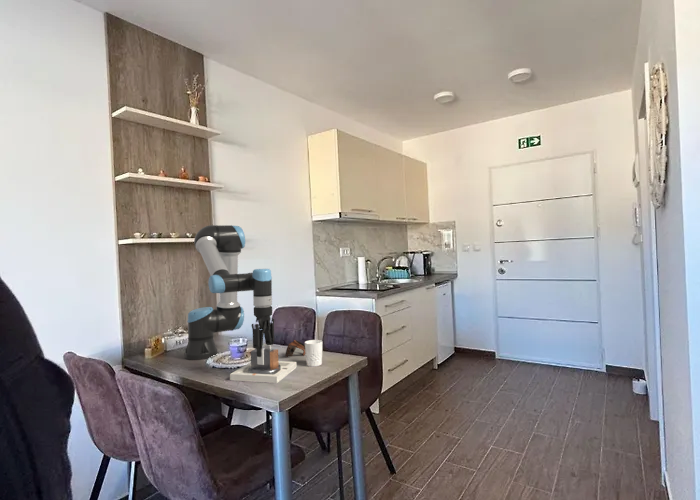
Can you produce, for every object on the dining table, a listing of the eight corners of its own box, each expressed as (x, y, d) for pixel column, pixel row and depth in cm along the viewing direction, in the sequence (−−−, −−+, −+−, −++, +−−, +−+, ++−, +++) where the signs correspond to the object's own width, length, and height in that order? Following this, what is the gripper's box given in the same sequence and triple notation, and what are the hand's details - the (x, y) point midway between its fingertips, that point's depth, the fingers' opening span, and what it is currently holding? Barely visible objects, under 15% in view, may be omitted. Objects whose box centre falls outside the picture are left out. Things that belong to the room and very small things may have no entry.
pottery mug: (287, 353, 196) (296, 338, 197) (303, 363, 193) (311, 348, 194) (277, 353, 185) (286, 337, 186) (294, 363, 182) (302, 347, 183)
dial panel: (230, 380, 155) (229, 373, 155) (254, 365, 174) (254, 359, 174) (277, 383, 150) (276, 376, 150) (296, 367, 170) (296, 361, 170)
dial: (242, 375, 158) (241, 353, 158) (258, 365, 170) (257, 345, 170) (271, 376, 154) (271, 355, 154) (285, 367, 167) (285, 347, 167)
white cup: (319, 361, 179) (318, 339, 179) (325, 365, 172) (325, 342, 172) (302, 363, 176) (302, 341, 176) (308, 368, 169) (308, 344, 169)
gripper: (258, 309, 153) (259, 369, 153) (282, 303, 169) (283, 357, 169) (242, 309, 155) (243, 368, 155) (267, 303, 172) (268, 356, 172)
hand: (264, 362), depth 162 cm, fingers closed on dial, 5 cm apart
